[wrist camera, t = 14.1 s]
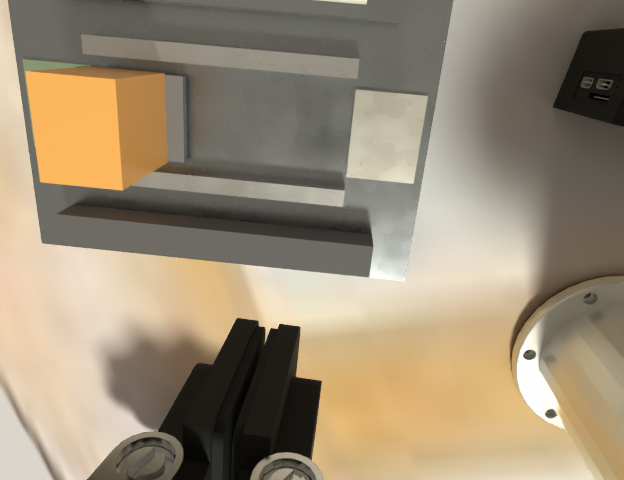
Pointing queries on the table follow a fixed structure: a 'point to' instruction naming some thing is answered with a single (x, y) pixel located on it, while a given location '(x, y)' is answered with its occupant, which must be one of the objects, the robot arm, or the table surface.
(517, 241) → the table surface
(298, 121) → the panel
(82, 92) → the toggle
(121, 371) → the table surface
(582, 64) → the digital camera
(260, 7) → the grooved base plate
